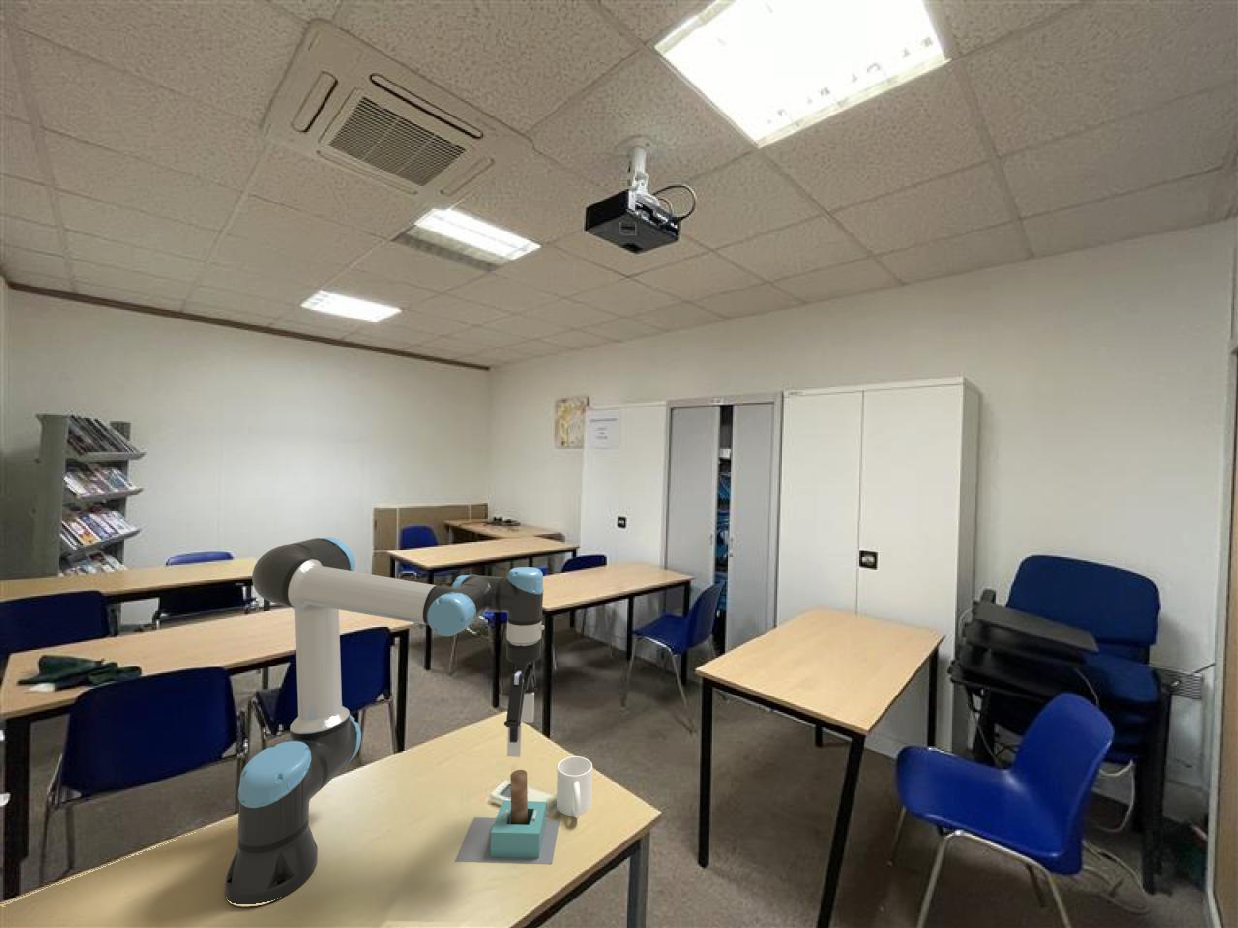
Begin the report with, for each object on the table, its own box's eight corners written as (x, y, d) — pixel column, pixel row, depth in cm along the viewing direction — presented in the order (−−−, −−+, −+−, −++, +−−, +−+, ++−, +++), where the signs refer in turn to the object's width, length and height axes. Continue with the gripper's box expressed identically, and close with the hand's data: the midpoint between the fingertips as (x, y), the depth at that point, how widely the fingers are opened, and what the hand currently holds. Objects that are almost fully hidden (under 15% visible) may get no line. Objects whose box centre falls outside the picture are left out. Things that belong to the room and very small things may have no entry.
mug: (594, 830, 114) (595, 784, 114) (558, 833, 112) (559, 787, 112) (589, 795, 126) (590, 754, 126) (556, 798, 124) (556, 756, 124)
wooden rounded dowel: (509, 845, 107) (508, 779, 107) (513, 832, 111) (512, 769, 111) (526, 845, 107) (525, 779, 107) (529, 832, 111) (528, 769, 111)
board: (454, 865, 103) (454, 861, 103) (473, 821, 116) (473, 816, 116) (552, 868, 102) (552, 863, 102) (560, 823, 115) (560, 819, 115)
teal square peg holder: (490, 856, 104) (491, 829, 104) (502, 822, 114) (502, 798, 114) (538, 857, 104) (539, 831, 104) (546, 823, 114) (546, 799, 114)
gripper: (530, 662, 97) (526, 772, 97) (549, 622, 122) (546, 710, 122) (491, 661, 97) (488, 771, 97) (518, 621, 122) (516, 709, 122)
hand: (520, 737), depth 109 cm, fingers open, 13 cm apart
